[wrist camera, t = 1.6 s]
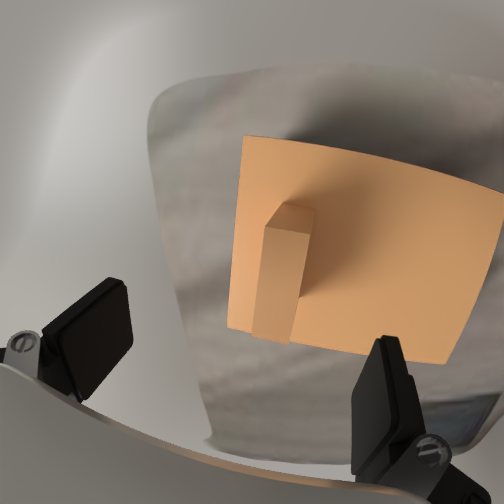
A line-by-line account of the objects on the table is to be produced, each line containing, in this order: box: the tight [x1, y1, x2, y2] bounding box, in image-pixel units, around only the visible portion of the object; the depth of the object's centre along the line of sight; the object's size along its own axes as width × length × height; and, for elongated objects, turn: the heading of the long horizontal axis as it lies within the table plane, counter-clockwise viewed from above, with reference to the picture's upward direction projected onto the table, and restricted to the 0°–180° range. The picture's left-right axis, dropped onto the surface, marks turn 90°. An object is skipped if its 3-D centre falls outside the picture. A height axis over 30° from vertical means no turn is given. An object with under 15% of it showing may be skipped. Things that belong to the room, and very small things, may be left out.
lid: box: [227, 135, 504, 365], centre depth 17 cm, size 17×13×7 cm
